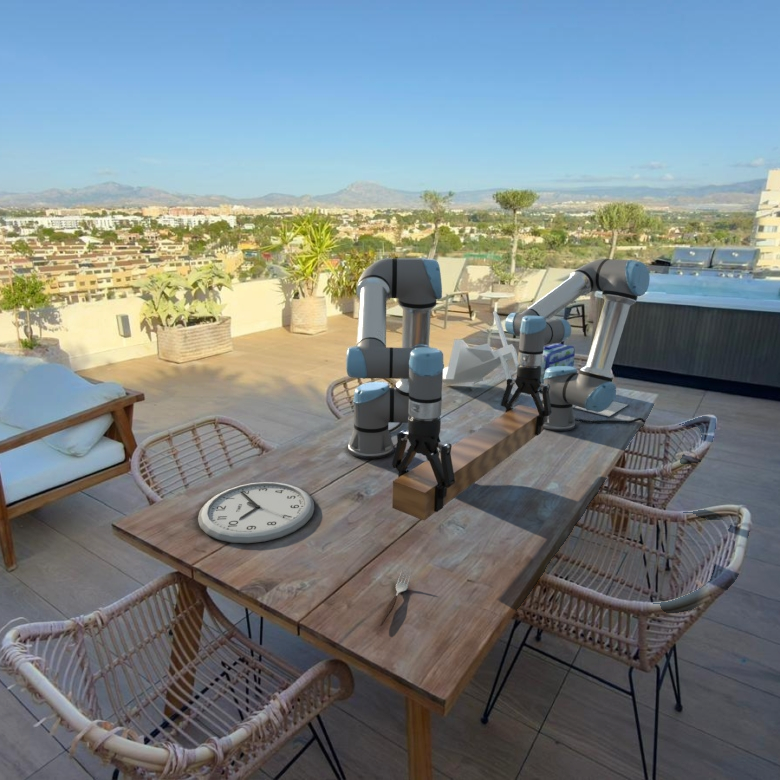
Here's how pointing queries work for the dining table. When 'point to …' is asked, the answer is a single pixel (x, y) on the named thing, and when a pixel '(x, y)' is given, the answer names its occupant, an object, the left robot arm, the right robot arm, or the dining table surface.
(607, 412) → the invitation card
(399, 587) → the fork
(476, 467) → the wide beam
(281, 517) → the wall clock
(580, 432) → the dining table surface
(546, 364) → the lunch box
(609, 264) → the right robot arm
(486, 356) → the white plastic object
